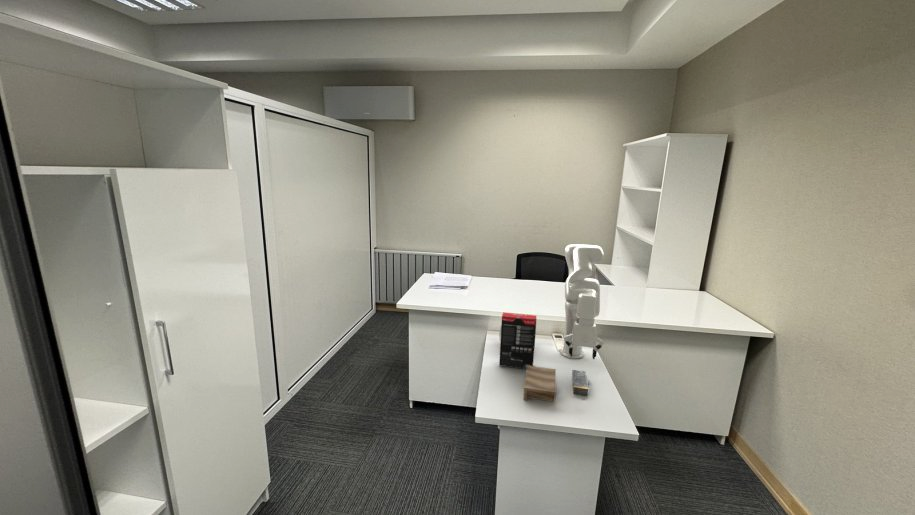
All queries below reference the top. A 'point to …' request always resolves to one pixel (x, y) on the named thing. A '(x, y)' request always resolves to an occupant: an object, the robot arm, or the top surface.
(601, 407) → the top surface
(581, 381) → the slab
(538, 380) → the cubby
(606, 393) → the top surface
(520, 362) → the graphics card box
